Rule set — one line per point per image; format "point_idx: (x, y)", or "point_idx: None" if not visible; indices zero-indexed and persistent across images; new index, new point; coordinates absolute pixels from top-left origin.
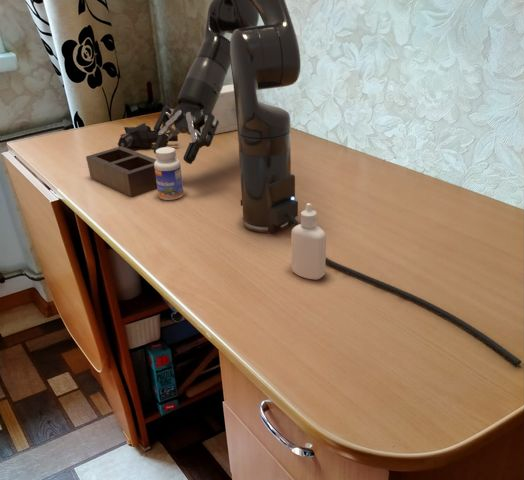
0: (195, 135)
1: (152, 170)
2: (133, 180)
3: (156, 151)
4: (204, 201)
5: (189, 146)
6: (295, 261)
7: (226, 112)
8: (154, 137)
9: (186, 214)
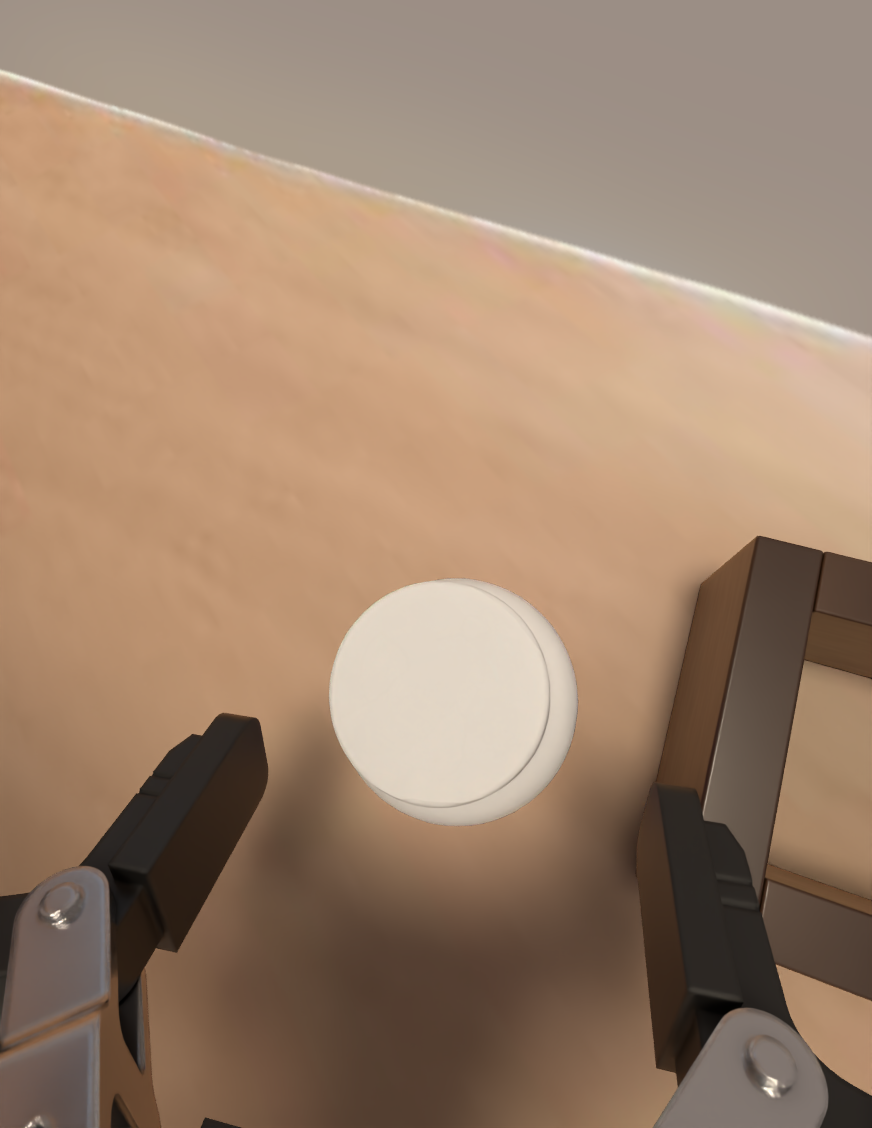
0: (17, 967)
1: (695, 776)
2: (727, 591)
3: (499, 604)
4: None
5: (159, 822)
6: None
7: None
8: None
9: (252, 530)
